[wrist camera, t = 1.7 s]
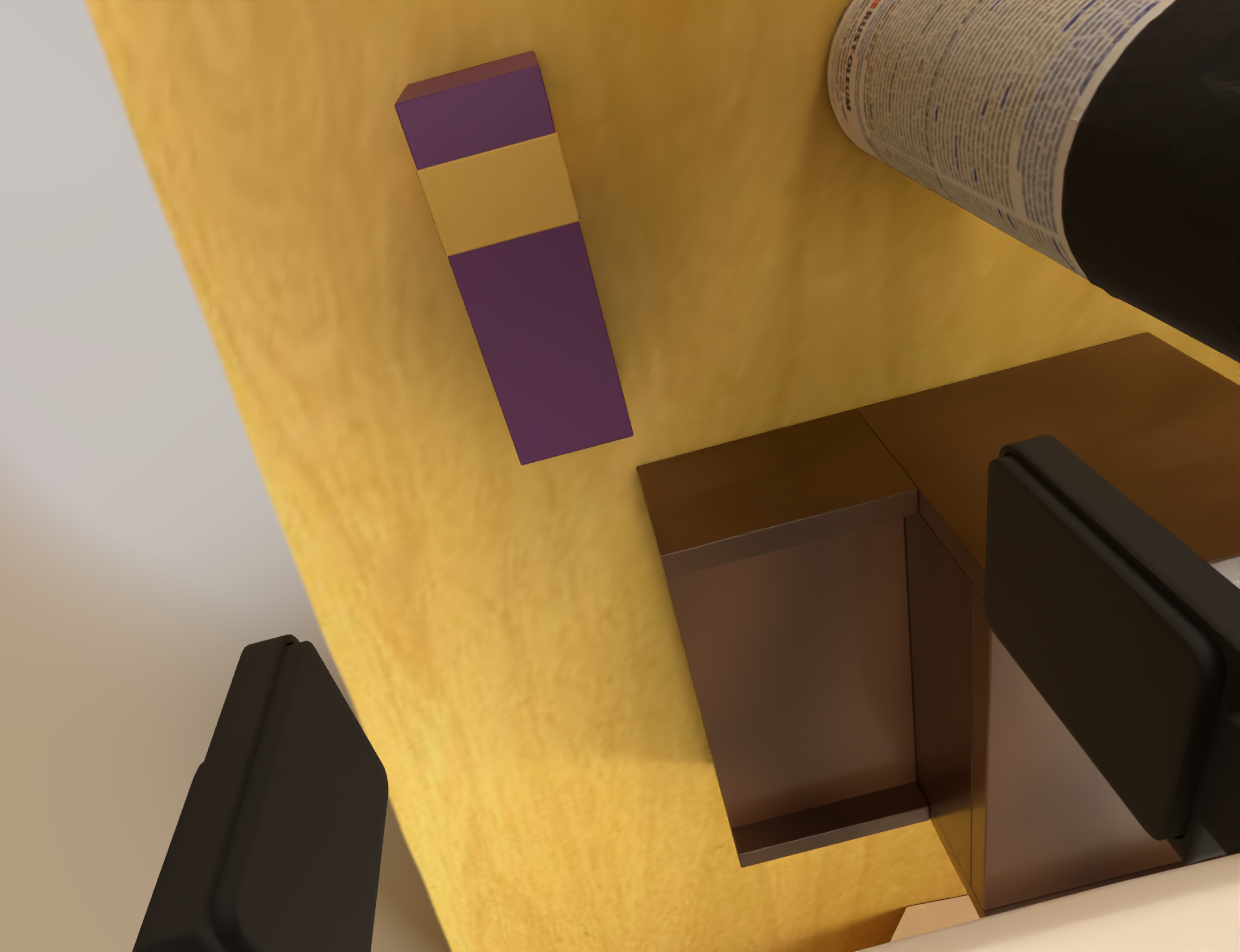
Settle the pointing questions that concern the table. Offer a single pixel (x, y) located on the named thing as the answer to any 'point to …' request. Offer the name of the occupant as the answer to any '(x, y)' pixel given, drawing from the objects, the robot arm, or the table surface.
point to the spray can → (1068, 134)
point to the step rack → (924, 614)
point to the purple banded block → (517, 252)
